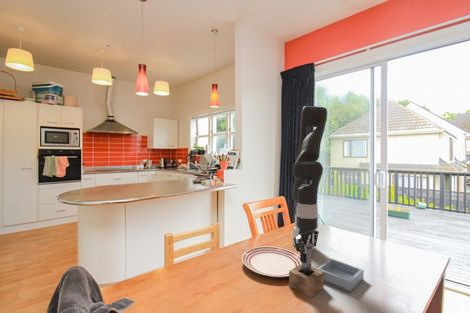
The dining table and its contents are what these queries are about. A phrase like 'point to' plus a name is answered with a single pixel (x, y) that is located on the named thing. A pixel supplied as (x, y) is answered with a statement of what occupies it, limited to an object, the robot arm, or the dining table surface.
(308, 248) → the pin
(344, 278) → the tray
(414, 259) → the dining table surface
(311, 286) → the block
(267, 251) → the dinner plate
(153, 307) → the dining table surface
